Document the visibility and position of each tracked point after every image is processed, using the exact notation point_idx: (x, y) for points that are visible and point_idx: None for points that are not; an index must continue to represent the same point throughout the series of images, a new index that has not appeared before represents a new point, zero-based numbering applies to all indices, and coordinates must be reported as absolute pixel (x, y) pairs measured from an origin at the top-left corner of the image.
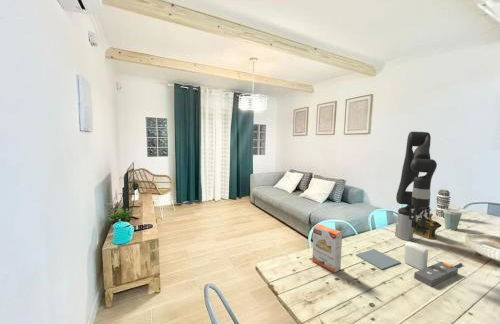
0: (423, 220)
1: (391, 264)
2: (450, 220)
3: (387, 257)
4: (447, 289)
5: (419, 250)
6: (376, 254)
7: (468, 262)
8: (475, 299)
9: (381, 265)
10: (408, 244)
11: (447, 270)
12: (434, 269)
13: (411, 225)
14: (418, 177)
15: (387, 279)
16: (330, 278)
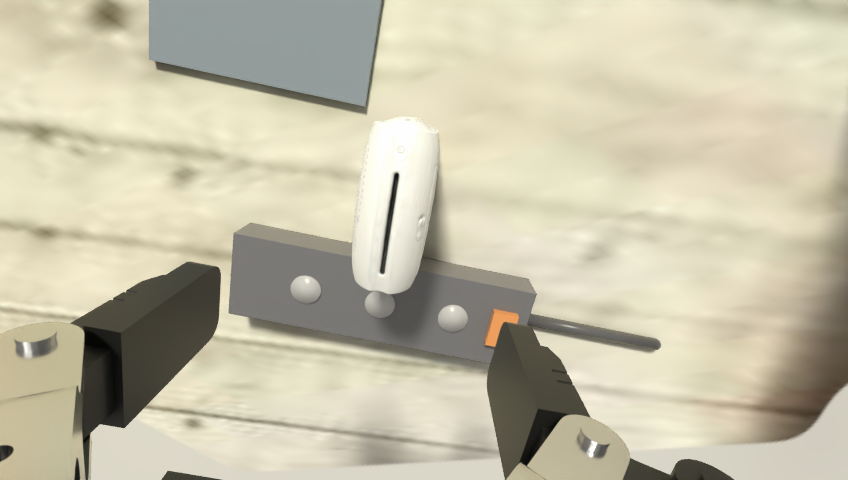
0: (511, 420)
1: (268, 78)
2: None
3: (347, 10)
4: (295, 346)
5: (353, 246)
6: None
7: (722, 359)
8: (317, 423)
9: (188, 37)
10: (370, 153)
11: (434, 339)
12: (376, 295)
13: (176, 269)
14: None
15: (90, 132)
16: None
